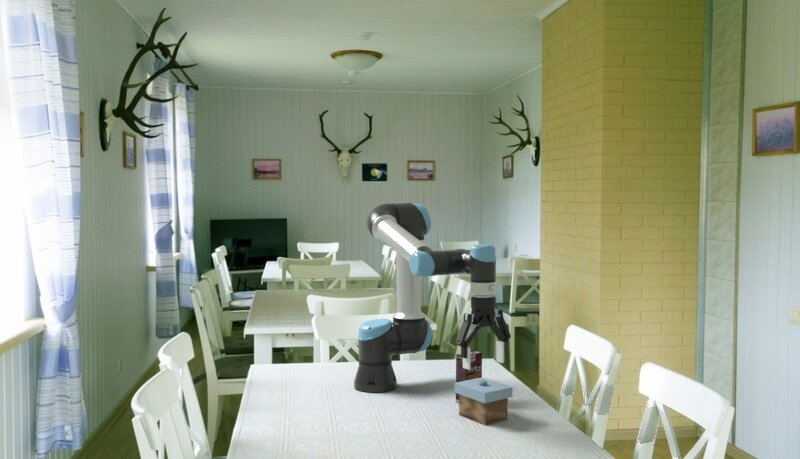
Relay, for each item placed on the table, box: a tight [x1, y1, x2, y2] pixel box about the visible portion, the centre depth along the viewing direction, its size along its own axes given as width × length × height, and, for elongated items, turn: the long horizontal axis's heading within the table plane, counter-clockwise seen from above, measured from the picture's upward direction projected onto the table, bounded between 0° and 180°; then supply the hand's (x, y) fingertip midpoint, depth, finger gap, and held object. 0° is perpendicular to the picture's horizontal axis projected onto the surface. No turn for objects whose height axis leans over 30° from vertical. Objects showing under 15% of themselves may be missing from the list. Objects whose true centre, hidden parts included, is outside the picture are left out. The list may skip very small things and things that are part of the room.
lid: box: [454, 376, 513, 403], centre depth 219 cm, size 14×11×5 cm
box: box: [458, 394, 509, 426], centre depth 219 cm, size 12×9×7 cm
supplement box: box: [455, 349, 483, 403], centre depth 237 cm, size 9×5×16 cm, turn 137°
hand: (483, 365), depth 218 cm, fingers open, 13 cm apart
